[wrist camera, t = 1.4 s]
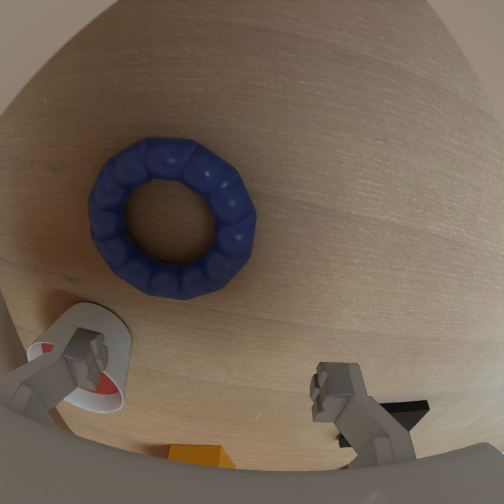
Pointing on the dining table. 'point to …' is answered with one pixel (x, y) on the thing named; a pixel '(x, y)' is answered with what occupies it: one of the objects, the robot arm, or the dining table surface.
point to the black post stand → (400, 415)
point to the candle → (119, 352)
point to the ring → (197, 179)
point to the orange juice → (200, 455)
